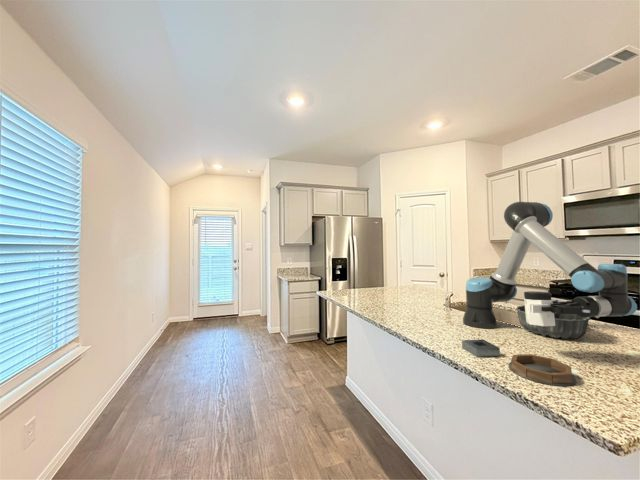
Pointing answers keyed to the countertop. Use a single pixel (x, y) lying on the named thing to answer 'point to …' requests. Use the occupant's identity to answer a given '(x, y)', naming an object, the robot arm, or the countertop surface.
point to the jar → (538, 318)
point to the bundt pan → (557, 325)
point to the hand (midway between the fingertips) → (530, 308)
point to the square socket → (480, 348)
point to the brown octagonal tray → (542, 370)
